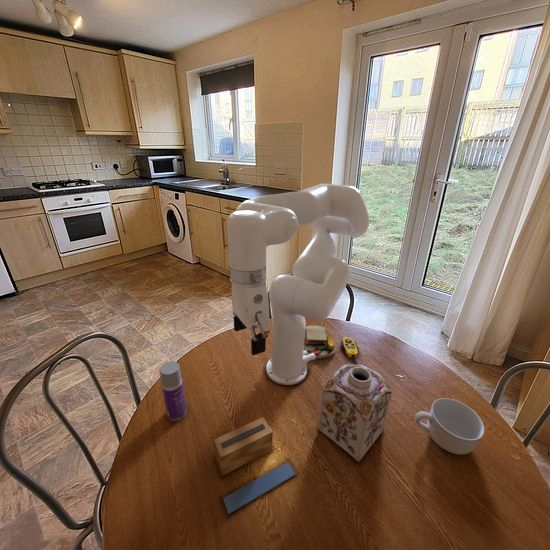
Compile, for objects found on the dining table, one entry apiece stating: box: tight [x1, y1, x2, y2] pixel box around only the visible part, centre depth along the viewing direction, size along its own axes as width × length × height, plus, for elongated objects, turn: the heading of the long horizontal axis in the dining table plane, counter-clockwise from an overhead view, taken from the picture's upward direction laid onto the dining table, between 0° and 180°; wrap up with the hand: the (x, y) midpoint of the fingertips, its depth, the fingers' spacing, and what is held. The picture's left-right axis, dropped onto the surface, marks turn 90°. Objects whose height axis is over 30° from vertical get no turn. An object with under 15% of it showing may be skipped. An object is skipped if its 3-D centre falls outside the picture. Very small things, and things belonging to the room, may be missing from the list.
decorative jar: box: [318, 363, 393, 462], centre depth 68 cm, size 12×12×18 cm
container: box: [159, 360, 187, 421], centre depth 72 cm, size 5×5×15 cm
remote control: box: [341, 337, 359, 365], centre depth 97 cm, size 5×2×15 cm
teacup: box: [414, 397, 486, 455], centre depth 69 cm, size 14×11×8 cm
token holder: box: [213, 416, 274, 477], centre depth 64 cm, size 12×4×6 cm, turn 119°
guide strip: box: [222, 461, 297, 515], centre depth 59 cm, size 15×3×1 cm, turn 119°
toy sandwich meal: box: [304, 325, 337, 359], centre depth 100 cm, size 12×14×5 cm
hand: (249, 340), depth 67 cm, fingers open, 9 cm apart
